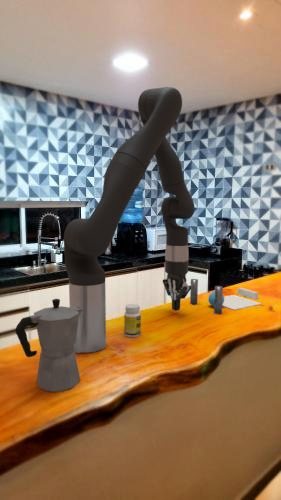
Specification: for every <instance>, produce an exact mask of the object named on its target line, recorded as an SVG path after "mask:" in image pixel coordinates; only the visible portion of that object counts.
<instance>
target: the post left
mask: <svg viewBox="0 0 281 500" xmlns="http://www.w3.org/2000/svg"><path fill="white" fill-rule="evenodd" d="M190 286H191V289H190V291H189V293H190V294H189V295H190V296H189V297H190V298H189V303H190V305H193V306H196V305H198V295H199V290H198V287H199V279H197V278H191V279H190Z"/></svg>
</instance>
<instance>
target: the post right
mask: <svg viewBox="0 0 281 500" xmlns="http://www.w3.org/2000/svg"><path fill="white" fill-rule="evenodd" d="M223 289H224V287H223V286H221V285H215V286H214V292H215V300H214V307H213V310H214V311H213V313H214V314H215V315H222V314H223V306H222V298H223V296H224V294H223V293H224V292H223V291H224V290H223Z"/></svg>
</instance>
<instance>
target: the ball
mask: <svg viewBox="0 0 281 500" xmlns="http://www.w3.org/2000/svg"><path fill="white" fill-rule="evenodd" d="M224 297H225V296H224V295H223V298H222V304H223V303H224ZM207 300H209V301H208V303H209V304H210V306H212V307H213V308H214V300H215V291H213V292H211V293H210V294H209V295H208V299H207Z"/></svg>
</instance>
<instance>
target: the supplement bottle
mask: <svg viewBox="0 0 281 500" xmlns="http://www.w3.org/2000/svg"><path fill="white" fill-rule="evenodd" d="M140 307H141V306H140V305H139V304H137V303H130V304H126V305H125V308H124V309H125V312H124V316H123V319H124V320H123V322H124V324H123V325H124V327H123V328H124V329H123V332H124V337H125V336H126V337H128V338H137V337H140V336H141V334H142V333H141V331H142V330H141V329H142V326H141V325H142V321H141V320H142V319H141V318H142V313H141V312H140V310H141V308H140Z"/></svg>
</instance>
